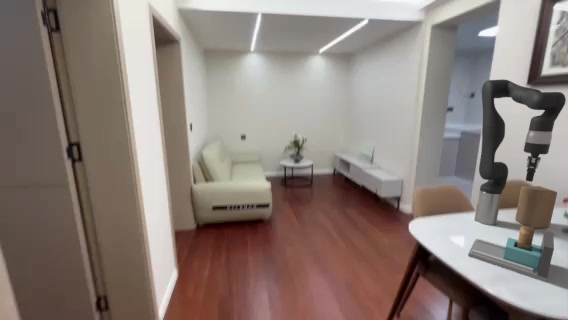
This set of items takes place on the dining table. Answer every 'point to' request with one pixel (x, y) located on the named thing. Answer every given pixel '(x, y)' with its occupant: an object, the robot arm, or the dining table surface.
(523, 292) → the dining table surface
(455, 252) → the dining table surface
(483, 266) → the dining table surface
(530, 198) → the block
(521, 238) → the dowel
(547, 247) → the rail base
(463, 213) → the dining table surface
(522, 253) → the socket block
